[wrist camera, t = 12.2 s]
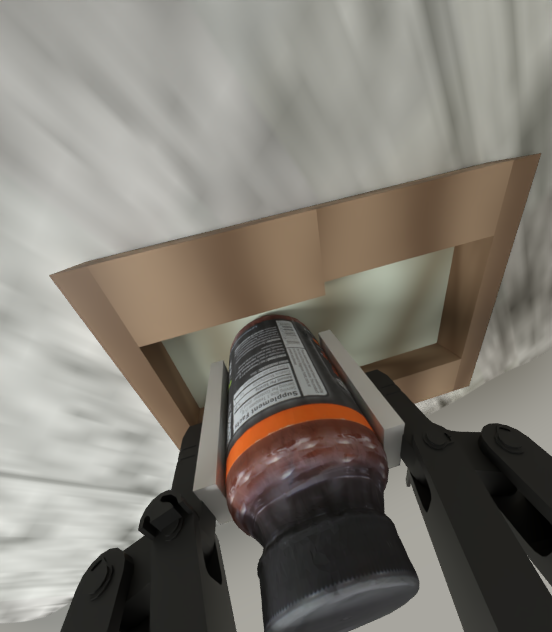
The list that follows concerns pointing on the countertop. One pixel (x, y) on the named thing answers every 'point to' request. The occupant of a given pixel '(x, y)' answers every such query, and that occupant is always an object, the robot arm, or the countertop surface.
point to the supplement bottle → (309, 485)
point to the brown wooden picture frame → (315, 286)
